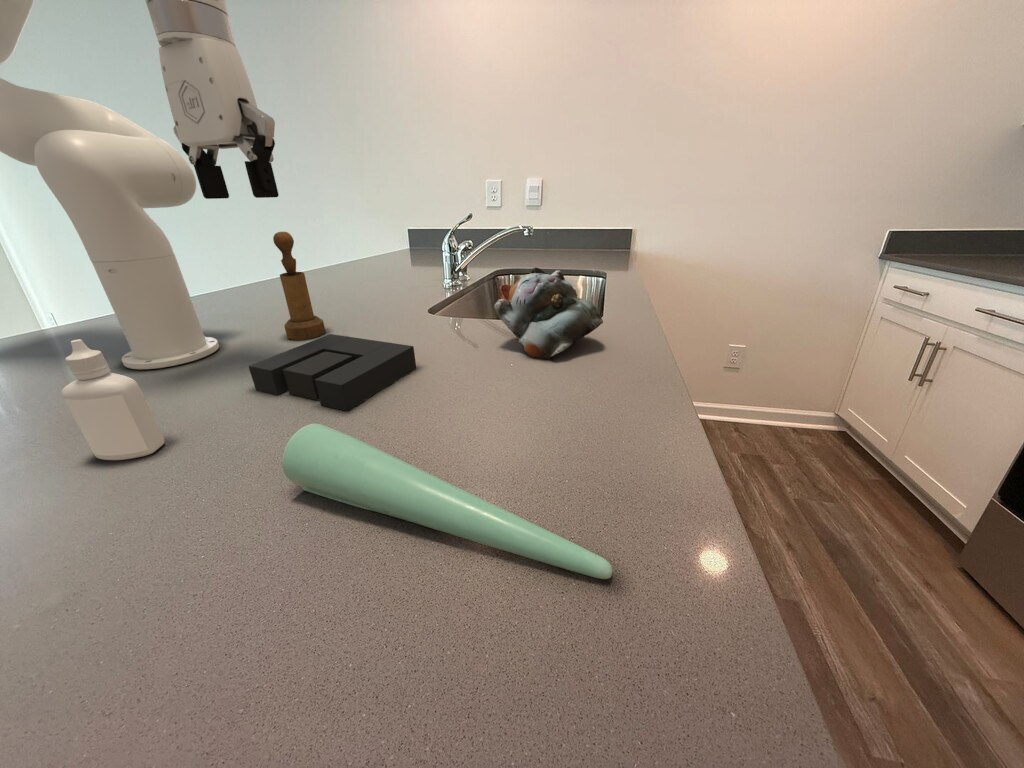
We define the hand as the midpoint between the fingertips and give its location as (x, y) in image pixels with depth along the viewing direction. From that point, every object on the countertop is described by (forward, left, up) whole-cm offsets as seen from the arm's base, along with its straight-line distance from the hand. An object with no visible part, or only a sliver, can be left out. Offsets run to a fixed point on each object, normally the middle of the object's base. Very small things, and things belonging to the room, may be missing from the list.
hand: (241, 197), depth 54 cm
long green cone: (+41, -20, -24) cm, 51 cm away
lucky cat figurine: (+36, +21, -24) cm, 48 cm away
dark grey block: (+13, -5, -23) cm, 27 cm away
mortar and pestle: (-8, +11, -24) cm, 27 cm away
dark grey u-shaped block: (+13, -2, -23) cm, 27 cm away
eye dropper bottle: (+6, -24, -24) cm, 34 cm away
